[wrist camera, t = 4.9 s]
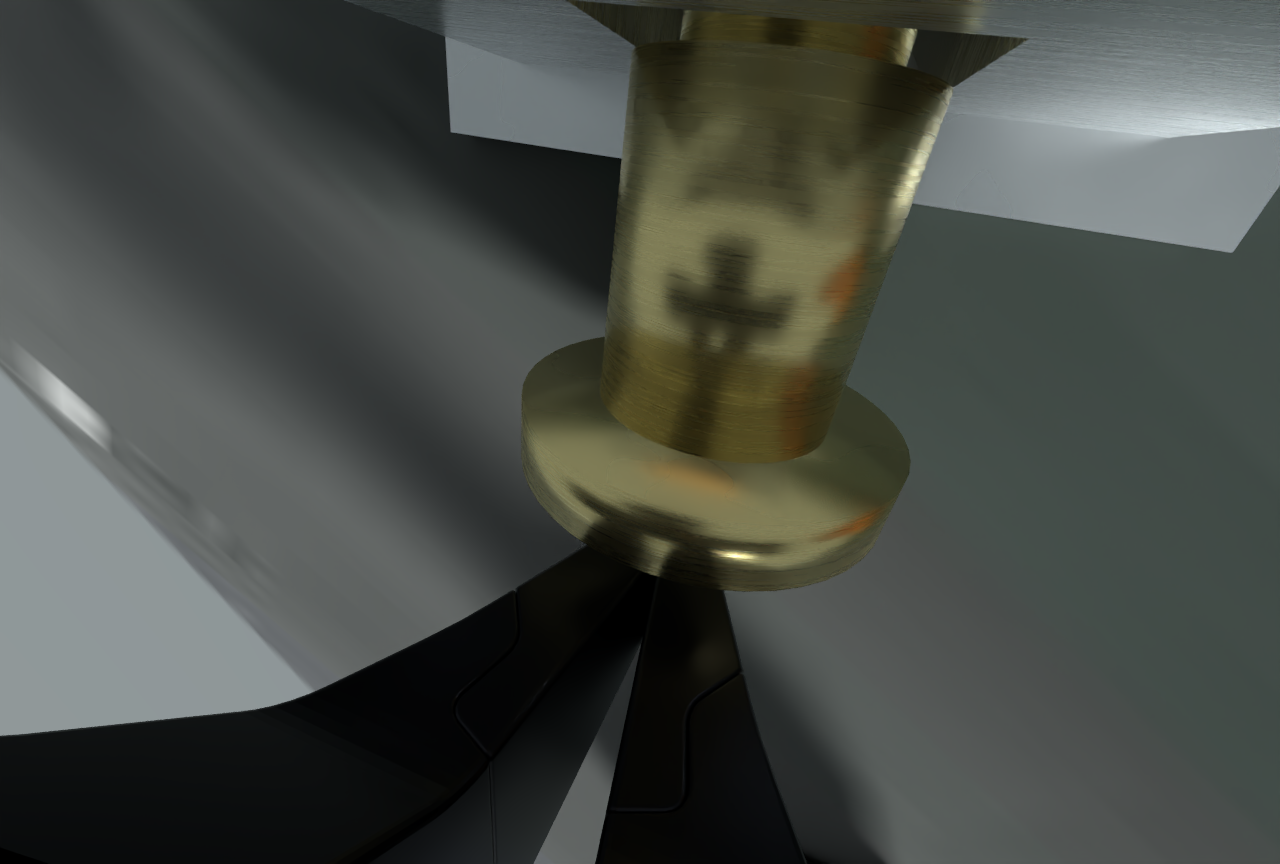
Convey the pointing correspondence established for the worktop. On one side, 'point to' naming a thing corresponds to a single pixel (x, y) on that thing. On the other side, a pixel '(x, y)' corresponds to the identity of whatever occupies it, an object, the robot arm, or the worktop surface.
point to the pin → (741, 308)
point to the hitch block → (977, 112)
